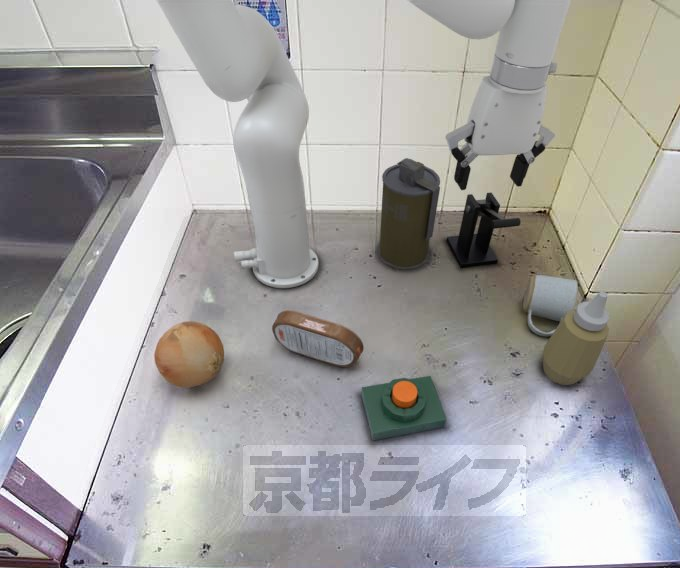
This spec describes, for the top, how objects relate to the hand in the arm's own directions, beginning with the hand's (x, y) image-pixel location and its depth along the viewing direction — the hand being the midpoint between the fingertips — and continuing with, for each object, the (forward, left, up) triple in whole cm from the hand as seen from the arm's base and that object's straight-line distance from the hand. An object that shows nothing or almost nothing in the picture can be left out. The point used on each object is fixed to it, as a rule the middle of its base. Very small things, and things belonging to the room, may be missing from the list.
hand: (488, 183), depth 76 cm
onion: (-50, -13, -22) cm, 56 cm away
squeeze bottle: (+8, -24, -22) cm, 33 cm away
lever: (+4, +3, -10) cm, 12 cm away
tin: (-31, -13, -22) cm, 40 cm away
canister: (-10, +10, -22) cm, 26 cm away
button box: (-20, -26, -22) cm, 39 cm away
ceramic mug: (+11, -12, -22) cm, 27 cm away
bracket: (+4, +8, -22) cm, 24 cm away
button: (-20, -26, -18) cm, 37 cm away
